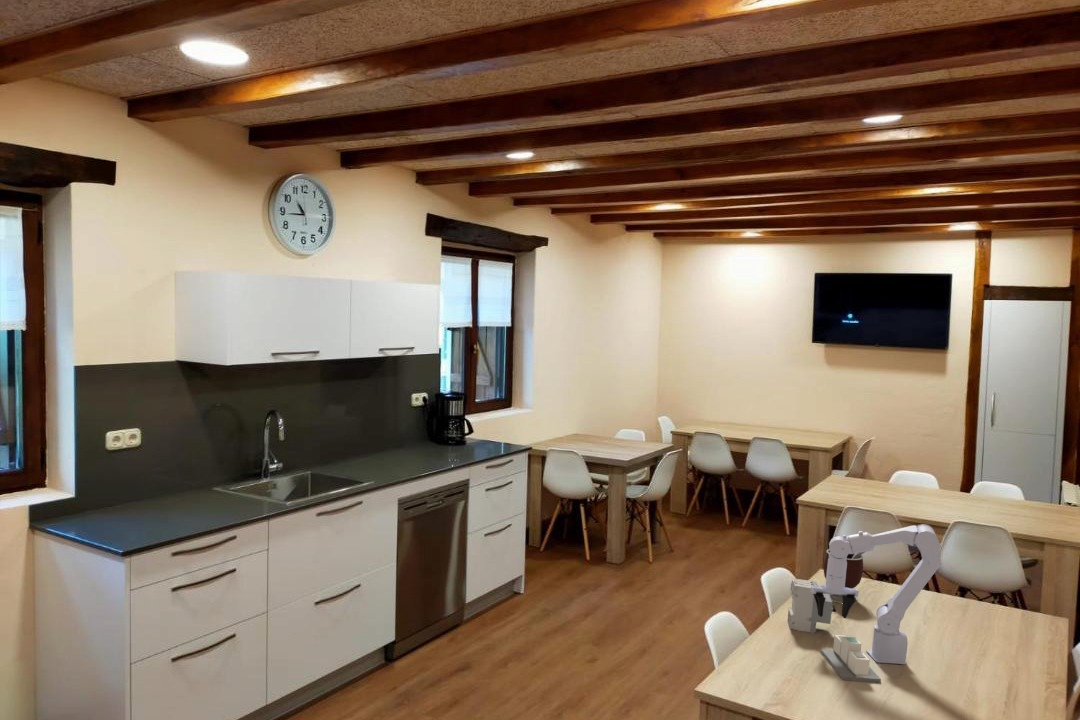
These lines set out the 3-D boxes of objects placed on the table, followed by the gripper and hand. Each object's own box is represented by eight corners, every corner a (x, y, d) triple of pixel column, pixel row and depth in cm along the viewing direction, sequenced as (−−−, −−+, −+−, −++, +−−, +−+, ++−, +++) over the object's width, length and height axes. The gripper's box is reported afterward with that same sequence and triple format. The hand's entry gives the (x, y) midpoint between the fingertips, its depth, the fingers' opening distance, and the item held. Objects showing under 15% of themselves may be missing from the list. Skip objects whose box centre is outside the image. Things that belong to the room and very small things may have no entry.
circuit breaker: (834, 635, 258) (839, 591, 257) (789, 629, 261) (794, 585, 260) (830, 626, 265) (835, 584, 264) (787, 620, 268) (791, 578, 267)
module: (853, 657, 238) (855, 636, 237) (859, 664, 233) (861, 643, 233) (840, 657, 238) (842, 636, 237) (846, 663, 233) (848, 642, 233)
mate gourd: (824, 602, 289) (829, 549, 287) (817, 589, 302) (822, 538, 301) (868, 607, 286) (873, 554, 285) (859, 594, 300) (864, 543, 298)
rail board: (855, 654, 244) (857, 635, 244) (880, 682, 226) (882, 661, 226) (820, 652, 244) (822, 632, 244) (843, 679, 226) (845, 658, 226)
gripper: (853, 572, 251) (849, 612, 252) (809, 569, 251) (805, 609, 252) (862, 579, 244) (858, 621, 245) (817, 576, 244) (812, 618, 245)
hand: (831, 616), depth 248 cm, fingers open, 7 cm apart
